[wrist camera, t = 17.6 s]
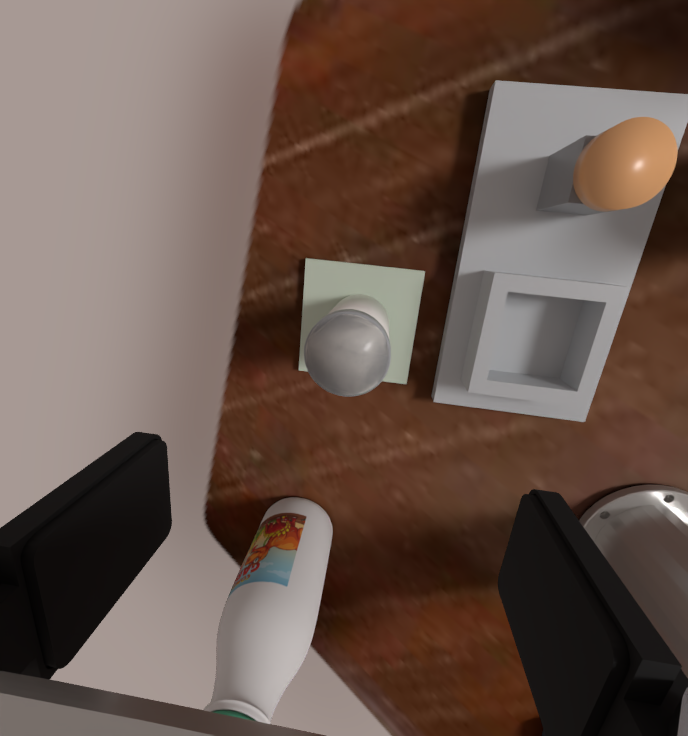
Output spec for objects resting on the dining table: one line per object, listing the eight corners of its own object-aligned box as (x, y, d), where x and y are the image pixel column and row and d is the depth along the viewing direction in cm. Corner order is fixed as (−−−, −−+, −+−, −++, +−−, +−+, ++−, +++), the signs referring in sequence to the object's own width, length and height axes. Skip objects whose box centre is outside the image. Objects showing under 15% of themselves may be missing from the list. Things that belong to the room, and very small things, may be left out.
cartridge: (386, 357, 33) (385, 401, 23) (326, 350, 33) (301, 390, 24) (394, 296, 31) (396, 317, 22) (331, 289, 31) (306, 307, 22)
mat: (406, 382, 34) (406, 384, 33) (299, 368, 35) (298, 370, 34) (424, 271, 31) (425, 271, 30) (307, 258, 31) (305, 258, 31)
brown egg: (602, 220, 26) (659, 212, 20) (537, 213, 26) (576, 204, 21) (623, 148, 24) (691, 120, 19) (555, 142, 24) (602, 113, 19)
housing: (576, 414, 33) (619, 452, 27) (431, 395, 34) (441, 427, 28) (679, 103, 26) (772, 57, 19) (489, 89, 26) (521, 41, 20)
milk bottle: (339, 503, 39) (296, 744, 20) (327, 558, 41) (279, 820, 22) (268, 487, 39) (160, 710, 20) (261, 543, 42) (158, 788, 23)
